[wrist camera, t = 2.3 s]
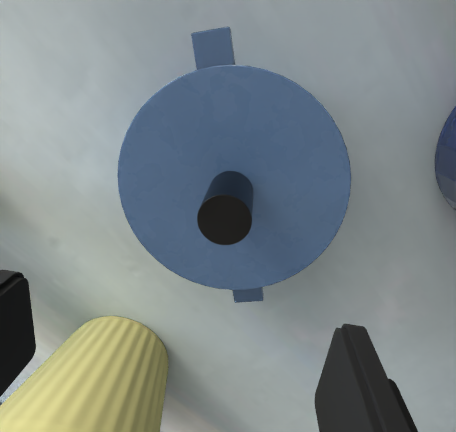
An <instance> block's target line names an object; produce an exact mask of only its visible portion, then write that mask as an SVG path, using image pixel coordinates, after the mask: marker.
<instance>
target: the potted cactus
mask: <svg viewBox="0 0 456 432" xmlns="http://www.w3.org/2000/svg"><path fill="white" fill-rule="evenodd" d="M167 374H168V355H167V351H166V349H165V347H164V345H163V343H162V342H161V340H160V339H159V338H158V337H157V335H156V334H155V333H153V332H152V331H151V330H150V329H149V328H147V327H145V326H144V325H142V324H140V323H138V322H136V321H134V320H131V319H127V318H123V317H116V316H105V317H99V318H95V319H92V320H90V321H88V322H86V323H85V324H83V325H82V326H81V327H80V328H79V329H77V330H76V331H75V332H74V333H73V334H72V335H71V336H70V337H69V338H68V339H67V340H66V341H65V342H64V343H63V344H62V345H61V346H60V347H59V348H58V349H57V350H56V351H55V352H54V353H53V354H52V355H51V356H50V357H49V358H48V359H47V360H46V361H45V362H44V363H43V364H42V365H41V366H40V367H39V368H38V369H37V370H36V371H35V372H34V373H33V374H32V375H31V376H30V377H29V378H28V379H27V380H26V381H25V382H24V383H23V384H22V385H21V386H20V387H19V388H18V389H17V390H16V391H15V392H14V393H13V394H12V395H11V396H10V397H9V398H8V399H7V400H6V401H5V402H4V403H3V404H2V405H1V406H0V432H160V425H161V418H162V410H163V403H164V396H165V388H166V381H167Z"/></svg>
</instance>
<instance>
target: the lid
mask: <svg viewBox="0 0 456 432" xmlns="http://www.w3.org/2000/svg"><path fill="white" fill-rule="evenodd" d="M350 186H351V173H350V162H349V158H348V153H347V149H346V146H345V143H344V141H343V138H342V135H341V133H340V131H339V129H338V127H337V126H336V124H335V122H334V120H333V119H332V117H331V116H330V115H329V113H328V112H327V111H326V109H325V108H324V107H323V105H322V104H321V103H320V102H319V101H317V100H316V99H315V98H314V97H313V96H312V95H311V94H310V93H309V92H308V91H306V90H305V89H304V88H302V87H301V86H299V85H298V84H297V83H295V82H293V81H291V80H289V79H287V78H285V77H284V76H282V75H279V74H276V73H273V72H271V71H268V70H265V69H261V68H256V67H251V66H241V65H223V66H212V67H208V68H204V69H200V70H196V71H193V72H191V73H188V74H186V75H183V76H181V77H179V78H177V79H175V80H174V81H172V82H170V83H168V84H167V85H165V86H164V87H163V88H161V89H160V90H159V91H158V92H156V93H155V94H154V95H153V96H152V97H151V98H150V99H149V100H148V101H147V102H146V103H145V104H144V105H143V106H142V108H141V109H140V110H139V112H138V113H137V115H136V116H135V117H134V119H133V121H132V123H131V125H130V126H129V128H128V130H127V132H126V135H125V138H124V141H123V144H122V147H121V151H120V156H119V161H118V188H119V194H120V199H121V204H122V207H123V210H124V213H125V216H126V218H127V220H128V222H129V224H130V226H131V229H132V230H133V232H134V233H135V235H136V237H137V238H138V240H139V241H140V242H141V244H142V245H143V246H144V247H145V248H146V250H147V251H148V252H149V253H150V254H151V255H152V256H153V257H154V258H155V259H156V260H157V261H159V262H160V263H161V264H163V265H164V266H165V267H166V268H168V269H169V270H171V271H173V272H174V273H176V274H178V275H179V276H181V277H183V278H186V279H188V280H190V281H192V282H195V283H198V284H201V285H204V286H209V287H214V288H218V289H229V290H246V289H253V288H260V287H264V286H268V285H272V284H275V283H277V282H280V281H283V280H285V279H287V278H289V277H291V276H293V275H295V274H297V273H298V272H300V271H301V270H303V269H304V268H306V267H307V266H308V265H310V264H311V263H312V262H313V261H314V260H315V259H317V258H318V257H319V256H320V254H321V253H322V252H323V251H324V250H325V249H326V248H327V247H328V245H329V244H330V242H331V241H332V239H333V238H334V237H335V235H336V233H337V231H338V229H339V227H340V225H341V223H342V221H343V218H344V216H345V213H346V210H347V206H348V201H349V196H350Z"/></svg>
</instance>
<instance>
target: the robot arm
mask: <svg viewBox="0 0 456 432" xmlns="http://www.w3.org/2000/svg"><path fill="white" fill-rule="evenodd" d="M35 350H36V343H35V335H34V326H33V318H32V309H31V300H30V292H29V283H28V280H27V279H26V278H24V275H23V274H22V273H20V272H14V271H8V270H0V397H1V395H2V394H3V393H4V392H5V391H6V389H7V388H8V387H9V386H10V385H11V383H12V382H13V381H14V380H15V379H16V377H17V376H18V375H19V374H20V372H21V371H22V370H23V369H24V368H25V366H26V365H27V364H28V363H29V362H30V360H31V359H32V358H33V356H34V353H35ZM315 409H316V415H317V420H318V426H319V432H418V431H417V428H416V426H415V424H414V422H413V420H412V417H411V415H410V413H409V411H408V409H407V407H406V404H405V402H404V400H403V398H402V396H401V393H400V391H399V389H398V387H397V385H396V384H395V382H394V381H393V380H391V379H388V378H387V376H386V373H385V371H384V369H383V367H382V364H381V362H380V360H379V357H378V355H377V353H376V351H375V348H374V346H373V344H372V341H371V339H370V337H369V335H368V332H367V330H366V329H365V327H362V326H356V325H350V324H343V326H342V327H341V328H336V329H335V332H334V335H333V338H332V341H331V345H330V348H329V351H328V354H327V358H326V361H325V364H324V367H323V371H322V374H321V377H320V380H319V384H318V387H317V390H316V394H315Z"/></svg>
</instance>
